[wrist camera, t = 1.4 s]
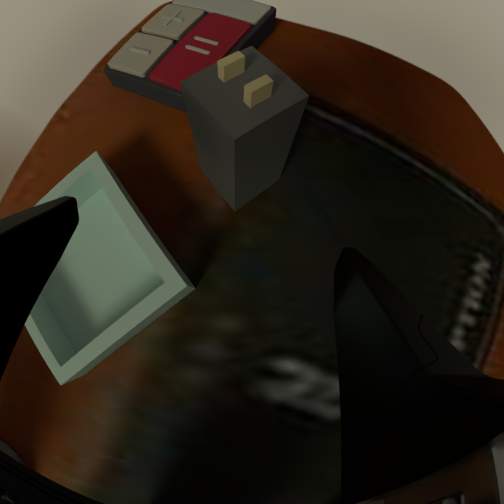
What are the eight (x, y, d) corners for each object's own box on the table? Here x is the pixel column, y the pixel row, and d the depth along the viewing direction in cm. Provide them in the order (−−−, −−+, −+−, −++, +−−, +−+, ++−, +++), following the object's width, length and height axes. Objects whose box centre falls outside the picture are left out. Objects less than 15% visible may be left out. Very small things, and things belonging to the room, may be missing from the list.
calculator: (98, 65, 21) (189, -19, 23) (113, 89, 26) (193, 6, 27) (194, 96, 21) (278, 2, 23) (200, 123, 25) (275, 29, 27)
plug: (279, 179, 24) (314, 80, 12) (234, 211, 23) (234, 125, 11) (244, 141, 24) (252, 30, 12) (201, 170, 24) (176, 66, 12)
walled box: (195, 288, 22) (187, 285, 18) (84, 374, 21) (60, 385, 17) (114, 171, 23) (96, 151, 19) (20, 258, 22) (-7, 251, 18)
